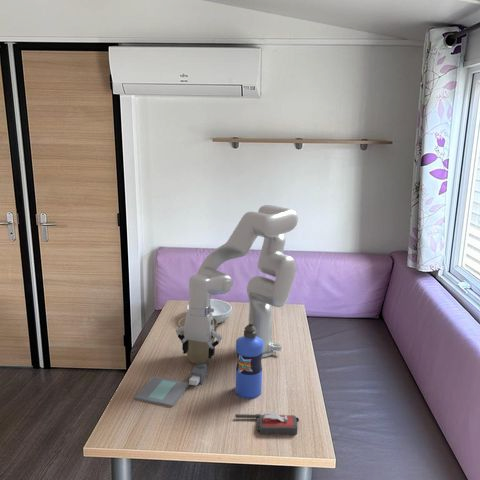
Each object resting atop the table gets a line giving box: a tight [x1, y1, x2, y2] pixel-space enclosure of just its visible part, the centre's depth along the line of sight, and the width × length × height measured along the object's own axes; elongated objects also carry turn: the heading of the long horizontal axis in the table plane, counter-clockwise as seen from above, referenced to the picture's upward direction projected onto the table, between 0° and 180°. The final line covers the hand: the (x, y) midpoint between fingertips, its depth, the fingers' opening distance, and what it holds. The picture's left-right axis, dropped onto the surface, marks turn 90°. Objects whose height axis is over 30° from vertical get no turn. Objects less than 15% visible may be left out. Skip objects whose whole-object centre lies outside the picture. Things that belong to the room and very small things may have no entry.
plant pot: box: [178, 316, 218, 365], centre depth 181 cm, size 15×15×16 cm
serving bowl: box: [186, 298, 233, 324], centre depth 218 cm, size 21×21×7 cm
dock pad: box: [133, 375, 190, 408], centre depth 160 cm, size 14×14×1 cm
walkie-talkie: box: [234, 411, 300, 436], centre depth 143 cm, size 9×4×20 cm
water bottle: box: [235, 323, 264, 400], centre depth 159 cm, size 9×9×25 cm
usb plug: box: [188, 363, 208, 386], centre depth 167 cm, size 10×4×4 cm, turn 163°
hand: (198, 354), depth 166 cm, fingers open, 9 cm apart
